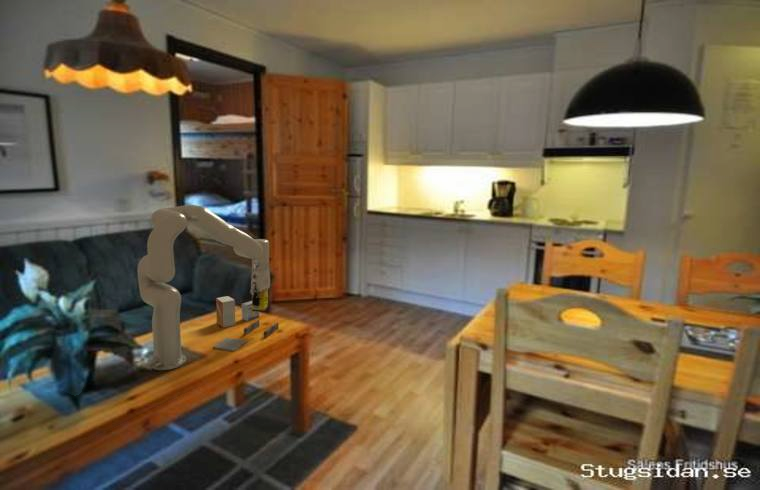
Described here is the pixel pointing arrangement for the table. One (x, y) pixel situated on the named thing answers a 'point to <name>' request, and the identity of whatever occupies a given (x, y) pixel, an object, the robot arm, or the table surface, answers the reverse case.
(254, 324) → the divider rack
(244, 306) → the medicine box
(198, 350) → the table surface
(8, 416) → the table surface
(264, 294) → the supplement box
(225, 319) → the small box
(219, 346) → the grey tile
